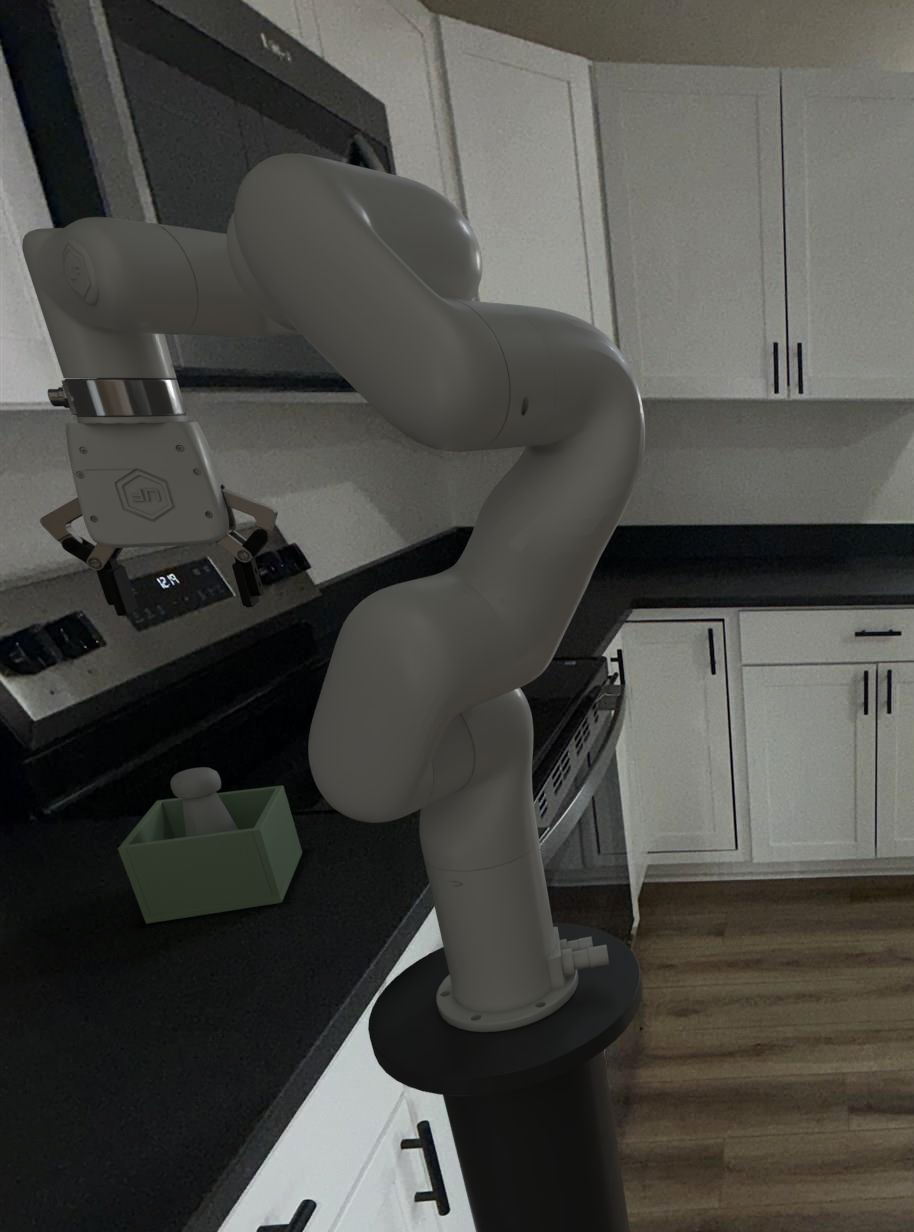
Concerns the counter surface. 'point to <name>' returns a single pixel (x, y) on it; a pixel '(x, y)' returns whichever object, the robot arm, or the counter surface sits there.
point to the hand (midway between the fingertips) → (191, 608)
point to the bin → (213, 857)
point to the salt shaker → (201, 802)
